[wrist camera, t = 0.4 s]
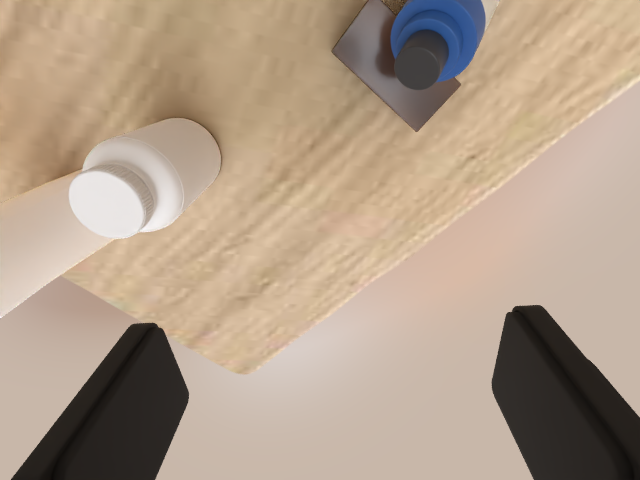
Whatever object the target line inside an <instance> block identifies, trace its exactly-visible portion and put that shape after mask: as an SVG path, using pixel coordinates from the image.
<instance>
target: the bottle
mask: <svg viewBox="0 0 640 480" xmlns="http://www.w3.org/2000/svg"><path fill="white" fill-rule="evenodd" d="M499 1H500V0H407V2H406V3H405V4H404V6H403V7H402V9H401V10H400V12H399V13H398V15H397V17H396V19H395V21H394V23H393V26H392V30H391V48H392V52H393V55H394V57H395V64H394V70H395V74H396V77H397V78H398V80H399V81H400V82H401V83H402V84H403V85H404V86H406V87H407V88H409V89H413V90H425V89H427V88H429V87H431V86H433V85H434V84H435V83H436V82H442V81H446V80H449V79H451V78H453V77H455V76H457V75H458V74H460V73H461V72H462V71H463V70H464V69H465V68H466V67H467V66H468V65H469V63H470V62H471V60H472V58H473V56H474V54H475V52H476V50H477V48H478V46H479V44H480V42H481V39H482V37H483V35H484V33H485V31H486V29H487V27H488V25H489V22H490V20H491V18H492V16H493V14H494V12H495V10H496V8H497V5H498V3H499Z"/></svg>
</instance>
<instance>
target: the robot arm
mask: <svg viewBox="0 0 640 480" xmlns="http://www.w3.org/2000/svg"><path fill="white" fill-rule="evenodd" d="M492 390H493V394H494V397H495V399H496V401H497V403H498V405H499V407H500V409H501V411H502V413H503V416H504V418H505V420H506V422H507V424H508V426H509V428H510V430H511V433H512V435H513V437H514V439H515V441H516V443H517V445H518V447H519V449H520V451H521V454H522V456H523V458H524V459H525V462H526V464H527V466H528V468H529V470H530V472H531V474H532V477H533V479H534V480H640V417H639V416H638V415H637V414H636V413H635V412H634V410H633V409H632V408H631V407H630V406H629V405H628V403H627V402H626V401H625V400H624V399H623V398H622V396H621V395H620V394H619V393H618V392H617V391H616V389H615V388H614V387H613V386H612V385H611V384H610V382H609V381H608V380H607V379H606V378H605V377H604V375H603V374H602V373H601V372H600V371H599V369H598V368H597V367H596V366H595V365H594V364H593V363H592V362H591V361H590V360H588V359H587V358H586V357H585V356H584V355H583V353H582V352H581V351H580V350H579V349H578V348H577V346H576V345H575V344H574V343H573V342H572V340H571V339H570V338H569V337H568V336H567V335H566V334H565V332H564V331H563V330H562V329H561V327H560V326H559V325H558V324H557V323H556V322H555V320H554V319H553V318H552V317H551V316H550V315H549V313H548V312H547V311H546V310H545V309H544V308H543V307H542V306H540V305H532V306H531V305H530V306H515V307H514V308H513V310H512V312H508V313H507V314H506V318H505V322H504V327H503V331H502V336H501V341H500V345H499V351H498V355H497V359H496V364H495V369H494V374H493V378H492ZM188 399H189V392H188V389H187V386H186V384H185V381H184V379H183V377H182V374H181V372H180V369H179V367H178V364H177V362H176V360H175V357H174V354H173V352H172V350H171V347H170V345H169V343H168V340H167V337H166V335H165V332H164V330H163V329H162V328H159V327H158V326H157V324H155V323H139V324H132V325H131V326H130V327H129V328H128V329H127V330H126V332H125V333H124V334H123V335H122V337H121V338H120V339H119V341H118V342H117V343H116V344H115V346H114V347H113V348H112V350H111V351H110V352H109V353H108V355H107V356H106V357H105V359H104V360H103V361H102V362H101V364H100V365H99V366H98V368H97V369H96V370H95V372H94V373H93V374H92V375H91V377H90V378H89V379H88V381H87V382H86V383H85V384H84V386H83V387H82V388H81V390H80V391H79V392H78V394H77V395H76V396H75V397H74V399H73V400H72V401H71V403H70V404H69V405H68V406H67V408H66V409H65V411H64V412H63V413H62V414H61V416H60V417H59V418H58V419H57V421H56V422H55V423H54V425H53V426H52V427H51V428H50V430H49V431H48V432H47V434H46V435H45V436H44V438H43V439H42V440H41V441H40V443H39V444H38V445H37V447H36V448H35V449H34V450H33V452H32V453H31V454H30V456H29V457H28V458H27V460H26V461H25V462H24V463H23V465H22V466H21V467H20V469H19V470H18V471H17V472H16V474H15V475H14V476H13V478H12V479H11V480H155V479H156V476H157V474H158V472H159V469H160V467H161V465H162V462H163V460H164V457H165V455H166V453H167V451H168V448H169V446H170V444H171V441H172V439H173V436H174V434H175V432H176V430H177V427H178V425H179V422H180V420H181V418H182V415H183V413H184V411H185V409H186V406H187V403H188Z"/></svg>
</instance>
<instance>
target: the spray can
mask: <svg viewBox="0 0 640 480" xmlns="http://www.w3.org/2000/svg"><path fill="white" fill-rule="evenodd" d="M81 172H82V169H80V170H78V171H75V172H74V173H71V174H68V175H66V176H63V177H60V178H58V179H55V180H53V181H50V182H48V183H45V184H43V185H41V186H38V187H36V188H34V189H31V190H29V191H27V192H24V193H22V194H20V195H18V196H15V197H13V198H11V199H8V200H6V201H4V202H1V203H0V318H1V317H2V316H4V315H6V314H7V313H8V312H9V311H11V310H12V309H14V308H15V307H16V306H18V305H19V304H21V303H22V302H23V301H25V300H26V299H27V298H29V297H30V296H31V295H33V294H34V293H35V292H37V291H38V290H39V289H41V288H42V287H44V286H45V285H47V284H48V283H49V282H51V281H52V280H54V279H55V278H57V277H58V276H60V275H61V274H63V273H64V272H66V271H67V270H69V269H70V268H72V267H73V266H75V265H77V264H78V263H80V262H81V261H83V260H84V259H86V258H87V257H89V256H90V255H92V254H93V253H95V252H96V251H98V250H99V249H101V248H103V247H104V246H106V245H107V244H109V243H110V242H112V241H113V240H115V239H113V238H107V237H104V236H101V235H99V234H96V233H95V232H93V231H91V230H90V229H88V228H87V227H86V226H85V225H83V224H82V223H81V222H80V221H79V219H78V218H77V217H76V215H75V214H74V212H73V210H72V208H71V206H70V202H69V187H70V184H71V183H72V180H74V178H75V176H77V175H78V174H79V173H81Z"/></svg>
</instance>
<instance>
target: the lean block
mask: <svg viewBox="0 0 640 480" xmlns="http://www.w3.org/2000/svg"><path fill="white" fill-rule="evenodd" d="M396 17H397V16H396V15H395V14H394V13H393V12H392V11H391V10H390V9H389V8H388V7H387V6H386V5H385V3H384V2H383V1H382V0H368V1H367V2H366V4H365V5H364V6H363V8H362V9H361V11H360V12H359V13H358V15H357V16H356V18H355V19H354V20H353V22H352V23H351V24H350V26H349V27H348V29H347V30H346V31H345V33H344V34H343V36H342V37H341V38H340V40H339V41H338V42H337V44H336V45H335V47H334V48H333V49H332V53H333V54H334V55H335V56H336V57H337V58H338V59H339V60H340V61H342V62H343V63H344V64H345V65H346V66H347V67H348V68H349V69H350V70H351V71H352V72H353V73H354V74H355V75H356V76H357V77H358V78H360V79H361V80H362V81H363V82H364V83H365V84H366V85H367V86H368V87H369V88H370V89H371V90H372V91H373V92H374V93H375V94H376V95H378V96H379V97H380V98H381V99H382V100H383V101H384V102H385V103H386V104H387V105H388V106H389V107H390V108H391V109H392V110H393V111H394V112H396V113H397V114H398V115H399V116H400V117H401V118H402V119H403V120H404V121H405V122H406V123H407V124H408V125H409V126H411V127H412V128H413V129H414V130H415V131H416V132H418V131H419V129H420V128H421V127H422V126H423V125H424V124H425V123H426V122H427V121H428V120H429V119H430V118H431V117H432V116H433V114H434V113H435V112H436V111H437V110H438V109H439V108H440V107H441V106H442V105H443V104H444V103H445V102H446V101H447V100H448V98H449V97H450V96H451V95H452V94H453V93H454V92H455V91H456V90H457V89H458V88H459V87H460V86H461V84H460V83H459V82H458V81H457V80H456V78H455V77H453V78H451V79H449V80H446V81H442V82H436V83H435V84H434V85H433V86H431V87H429V88H427V89H425V90H413V89H409V88H407V87H406V86H404V85H403V84H402V83H401V82H400V81H399V80H398V78H397V77H396V74H395V70H394V64H395V57H394V55H393V52H392V48H391V30H392V26H393V23H394V21H395V19H396Z"/></svg>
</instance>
